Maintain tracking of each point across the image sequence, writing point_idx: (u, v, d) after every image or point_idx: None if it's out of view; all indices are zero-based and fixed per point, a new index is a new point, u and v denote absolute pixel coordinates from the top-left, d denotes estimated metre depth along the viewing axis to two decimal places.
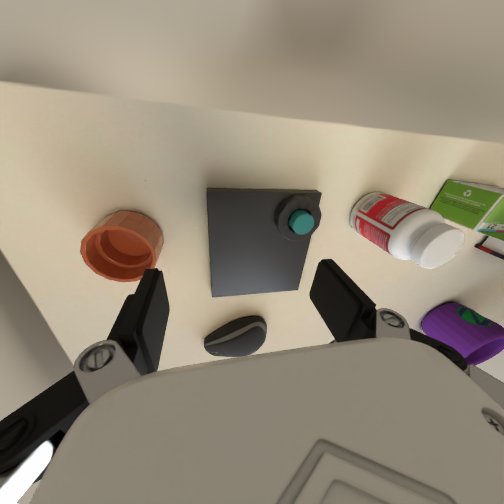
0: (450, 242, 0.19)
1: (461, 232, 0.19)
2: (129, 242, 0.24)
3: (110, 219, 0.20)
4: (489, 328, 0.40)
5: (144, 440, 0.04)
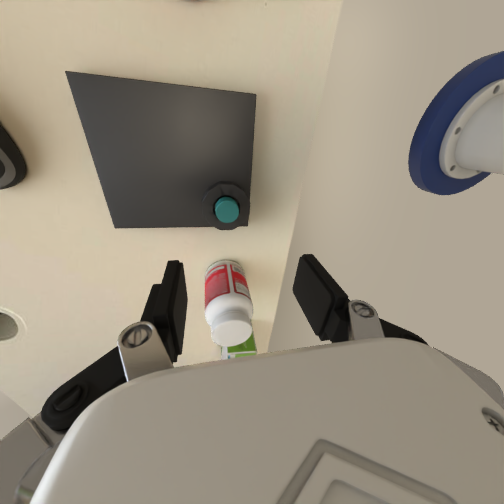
0: (239, 335, 0.23)
1: (248, 337, 0.23)
2: None
3: None
4: None
5: (144, 440, 0.04)
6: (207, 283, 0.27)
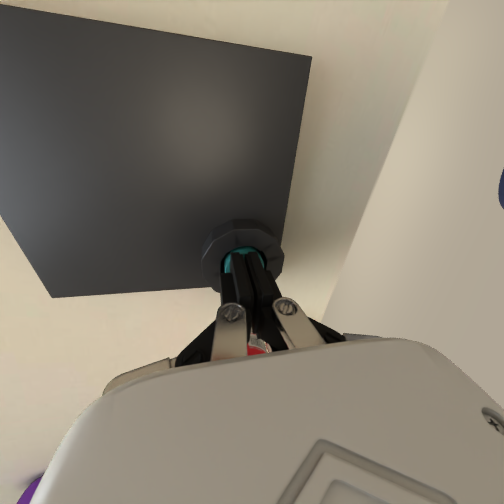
0: None
1: None
2: None
3: None
4: None
5: (144, 440, 0.04)
6: None
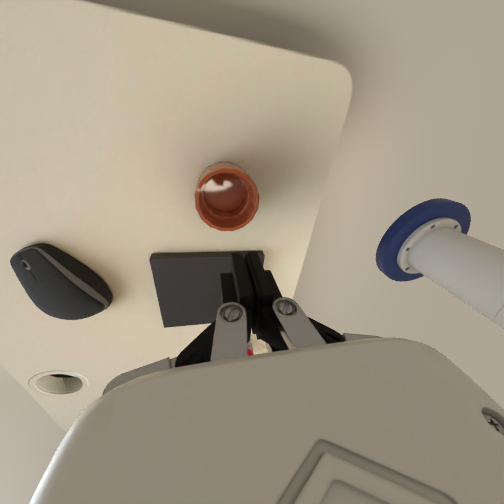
0: None
1: None
2: (220, 187, 0.24)
3: None
4: None
5: (144, 440, 0.04)
6: None
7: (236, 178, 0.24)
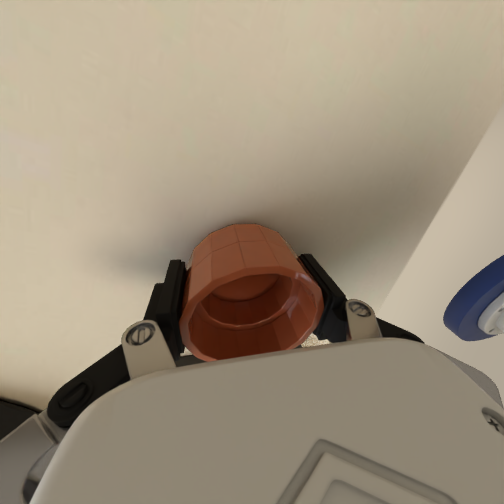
0: None
1: None
2: None
3: None
4: None
5: (144, 440, 0.04)
6: None
7: None
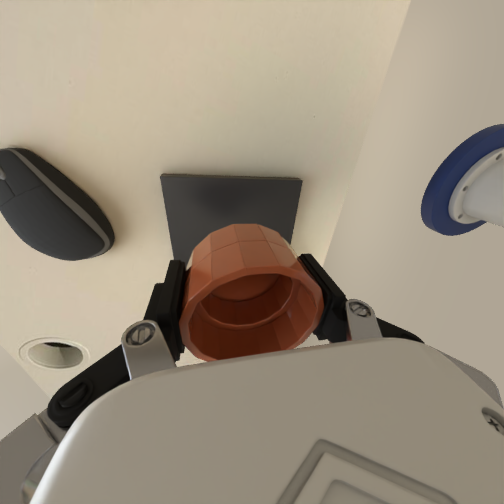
0: None
1: None
2: None
3: None
4: None
5: (144, 440, 0.04)
6: None
7: None
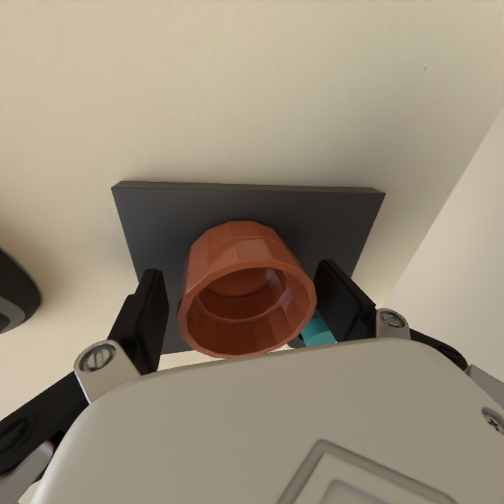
0: None
1: None
2: None
3: None
4: None
5: (144, 440, 0.04)
6: None
7: None
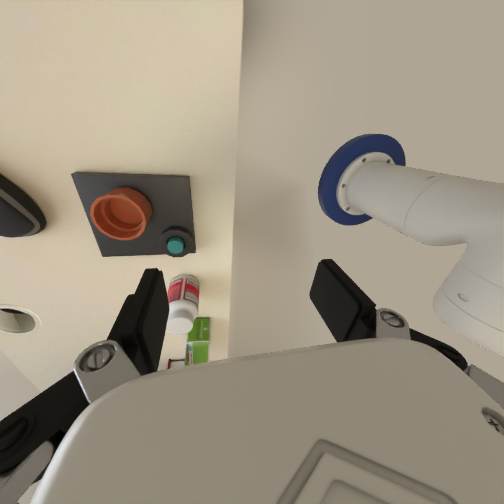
0: (184, 327, 0.35)
1: (191, 328, 0.35)
2: (123, 206, 0.31)
3: (147, 210, 0.30)
4: None
5: (144, 440, 0.04)
6: (168, 292, 0.39)
7: None
